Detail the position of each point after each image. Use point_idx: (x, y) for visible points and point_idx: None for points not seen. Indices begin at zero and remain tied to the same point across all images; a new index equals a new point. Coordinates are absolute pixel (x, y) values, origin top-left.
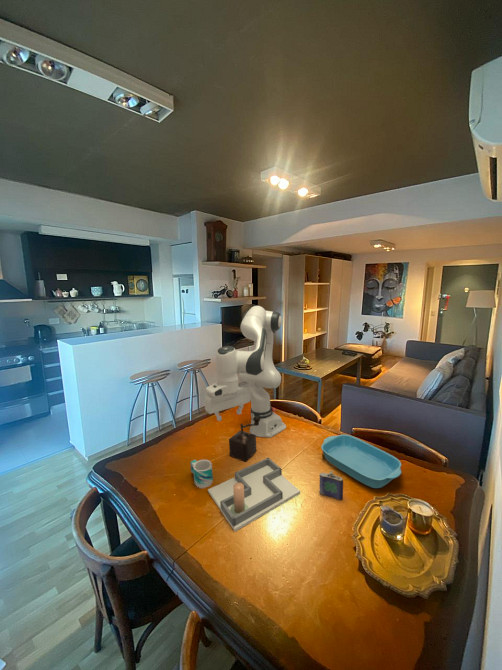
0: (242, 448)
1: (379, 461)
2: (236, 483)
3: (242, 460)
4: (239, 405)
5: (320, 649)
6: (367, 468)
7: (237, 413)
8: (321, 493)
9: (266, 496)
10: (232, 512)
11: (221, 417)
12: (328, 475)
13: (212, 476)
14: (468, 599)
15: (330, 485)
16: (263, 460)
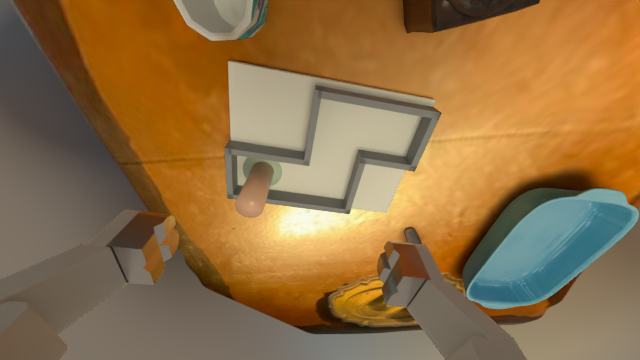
0: (424, 15)
1: (544, 261)
2: (250, 197)
3: (404, 15)
4: (454, 357)
5: (242, 298)
6: (515, 252)
7: (385, 254)
8: (405, 234)
9: (329, 181)
10: (246, 167)
11: (157, 273)
12: None
13: (260, 25)
14: (364, 333)
15: None
16: (419, 112)
